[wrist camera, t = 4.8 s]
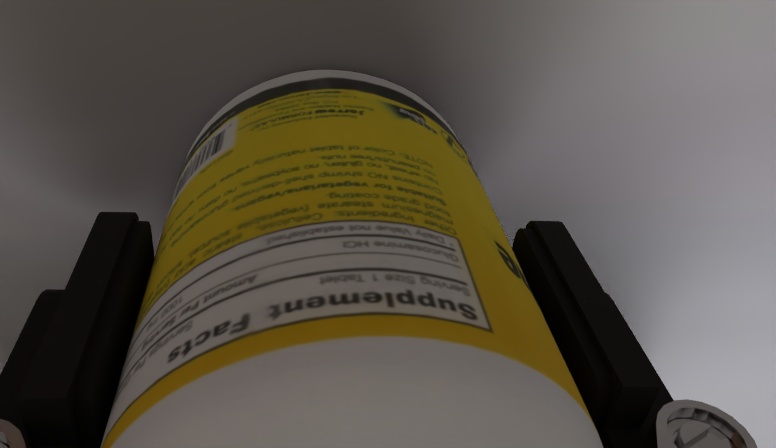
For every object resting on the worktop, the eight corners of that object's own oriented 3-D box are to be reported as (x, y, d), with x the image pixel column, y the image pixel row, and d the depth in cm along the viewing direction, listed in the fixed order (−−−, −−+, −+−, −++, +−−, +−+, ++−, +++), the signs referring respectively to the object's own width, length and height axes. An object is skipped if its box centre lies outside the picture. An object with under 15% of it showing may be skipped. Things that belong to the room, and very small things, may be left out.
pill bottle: (452, 300, 16) (649, 949, 7) (196, 308, 16) (63, 1048, 7) (489, 59, 13) (943, 719, 4) (163, 53, 12) (-216, 868, 3)
